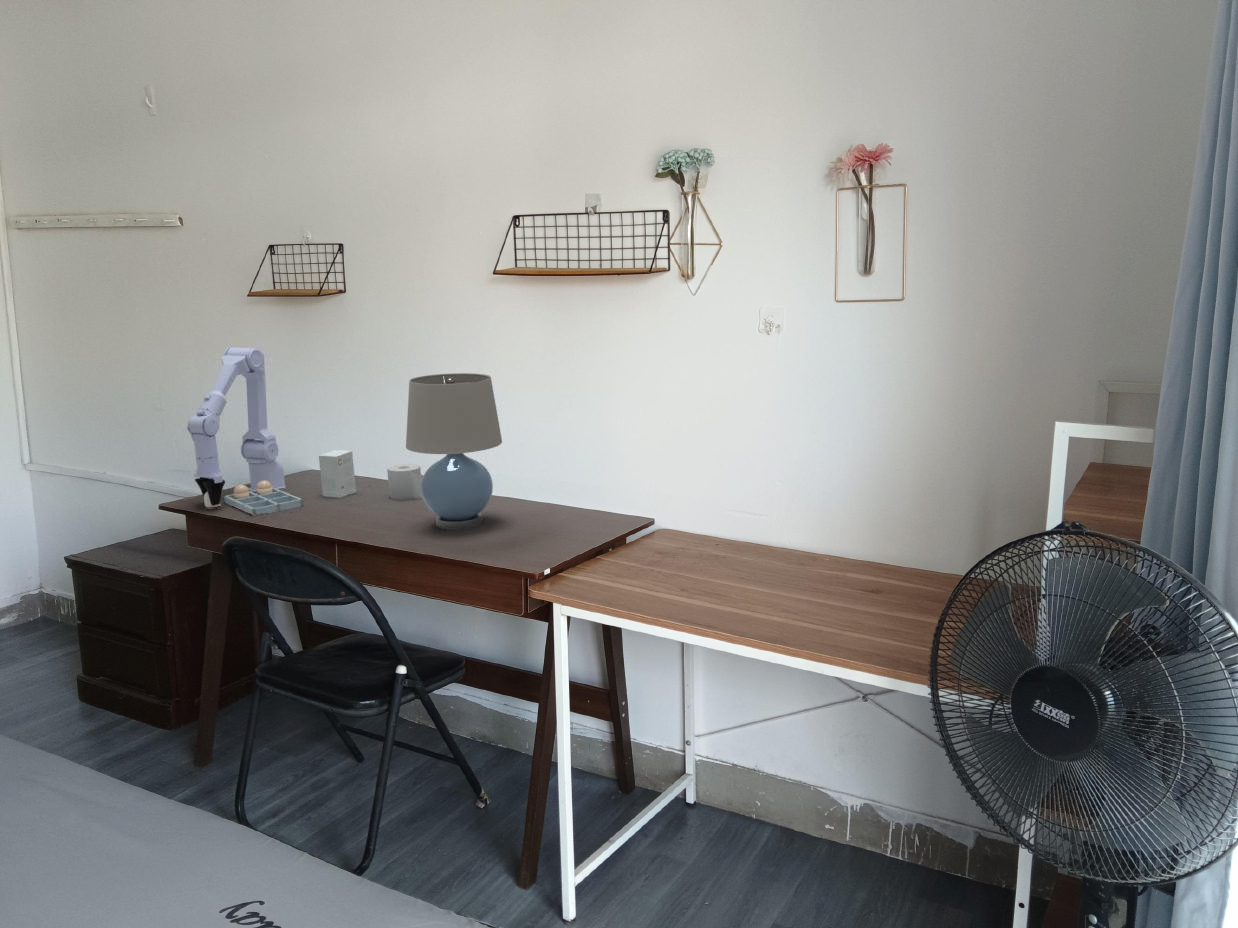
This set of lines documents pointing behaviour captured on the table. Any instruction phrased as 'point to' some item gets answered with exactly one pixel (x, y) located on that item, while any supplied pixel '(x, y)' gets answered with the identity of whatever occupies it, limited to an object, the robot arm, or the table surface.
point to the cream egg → (207, 501)
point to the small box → (337, 473)
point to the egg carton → (265, 502)
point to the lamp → (454, 443)
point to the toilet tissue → (405, 481)
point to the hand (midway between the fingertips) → (212, 503)
